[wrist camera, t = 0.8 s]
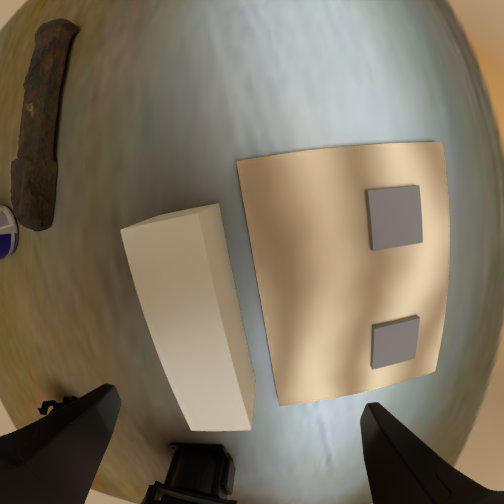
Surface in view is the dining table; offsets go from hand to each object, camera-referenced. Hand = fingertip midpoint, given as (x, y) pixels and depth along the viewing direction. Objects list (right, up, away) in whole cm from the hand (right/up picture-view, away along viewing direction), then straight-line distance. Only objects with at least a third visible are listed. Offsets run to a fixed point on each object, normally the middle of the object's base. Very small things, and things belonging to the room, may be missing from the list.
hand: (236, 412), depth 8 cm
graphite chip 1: (+10, +8, +9) cm, 16 cm away
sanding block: (-3, +1, +13) cm, 13 cm away
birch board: (+9, +3, +12) cm, 15 cm away
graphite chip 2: (+12, -2, +12) cm, 17 cm away
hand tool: (-16, +17, +10) cm, 26 cm away
